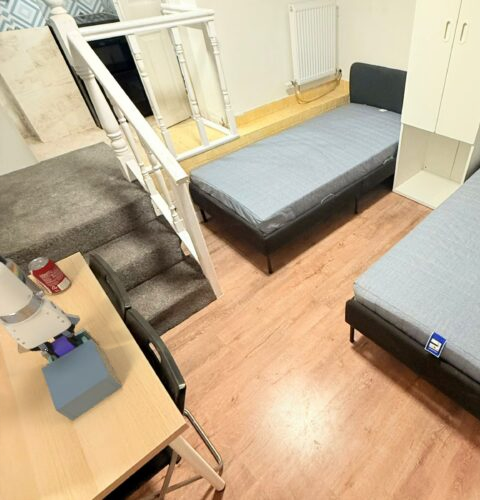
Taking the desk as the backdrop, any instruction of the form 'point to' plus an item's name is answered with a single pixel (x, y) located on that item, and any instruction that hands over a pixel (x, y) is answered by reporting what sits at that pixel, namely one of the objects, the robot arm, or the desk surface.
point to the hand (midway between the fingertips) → (66, 347)
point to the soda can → (48, 275)
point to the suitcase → (80, 380)
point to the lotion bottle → (19, 274)
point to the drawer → (82, 338)
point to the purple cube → (62, 346)
